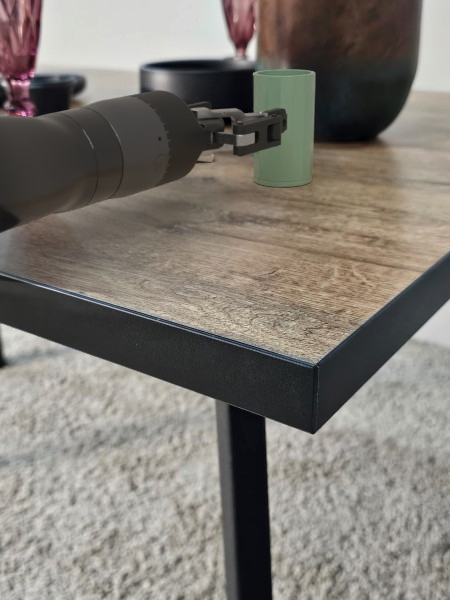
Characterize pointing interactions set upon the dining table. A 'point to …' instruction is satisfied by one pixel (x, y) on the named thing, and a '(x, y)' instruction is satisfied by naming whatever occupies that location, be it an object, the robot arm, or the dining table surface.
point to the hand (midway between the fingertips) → (244, 116)
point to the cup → (300, 127)
